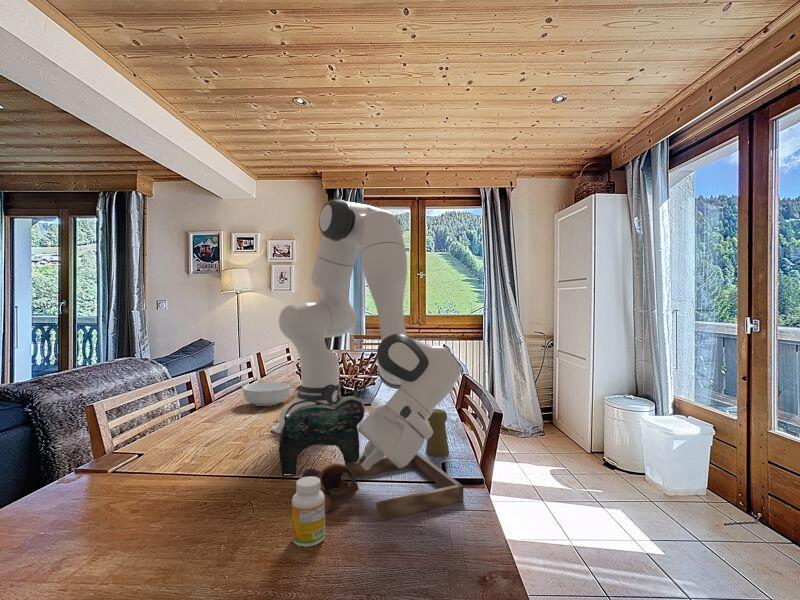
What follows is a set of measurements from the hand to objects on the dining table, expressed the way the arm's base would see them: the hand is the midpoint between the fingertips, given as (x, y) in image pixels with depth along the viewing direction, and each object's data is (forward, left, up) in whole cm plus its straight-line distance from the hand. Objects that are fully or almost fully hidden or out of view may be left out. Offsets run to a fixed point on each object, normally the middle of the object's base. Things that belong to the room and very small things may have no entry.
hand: (361, 466), depth 88 cm
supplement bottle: (0, -17, -6) cm, 18 cm away
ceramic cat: (-15, +6, -6) cm, 17 cm away
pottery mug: (-5, -5, -6) cm, 9 cm away
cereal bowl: (-73, +46, -6) cm, 87 cm away
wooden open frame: (+5, +7, -6) cm, 10 cm away
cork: (+4, +29, -6) cm, 30 cm away
